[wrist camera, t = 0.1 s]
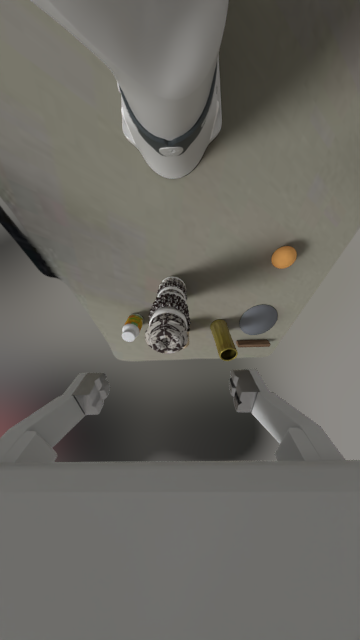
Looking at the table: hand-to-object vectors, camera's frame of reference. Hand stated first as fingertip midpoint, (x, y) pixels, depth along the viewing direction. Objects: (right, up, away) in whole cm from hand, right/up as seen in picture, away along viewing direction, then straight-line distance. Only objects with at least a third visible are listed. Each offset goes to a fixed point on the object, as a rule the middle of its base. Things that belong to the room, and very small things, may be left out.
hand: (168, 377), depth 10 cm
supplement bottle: (-15, +4, +44) cm, 47 cm away
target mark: (+29, +4, +44) cm, 53 cm away
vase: (+15, +2, +46) cm, 48 cm away
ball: (+28, +20, +30) cm, 46 cm away
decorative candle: (-2, +14, +38) cm, 40 cm away
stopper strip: (+29, -5, +50) cm, 58 cm away
